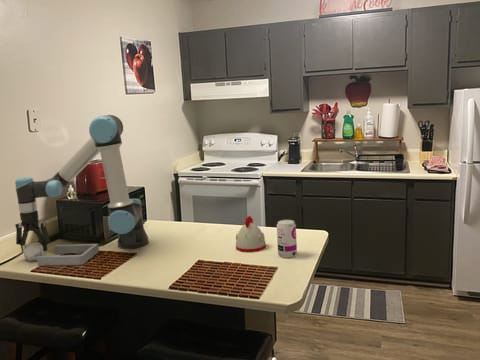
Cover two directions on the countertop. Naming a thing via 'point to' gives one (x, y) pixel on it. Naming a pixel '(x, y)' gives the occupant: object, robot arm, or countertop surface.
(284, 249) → the supplement can
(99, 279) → the countertop surface
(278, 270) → the countertop surface
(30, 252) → the die
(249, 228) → the kitchen timer
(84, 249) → the channel
